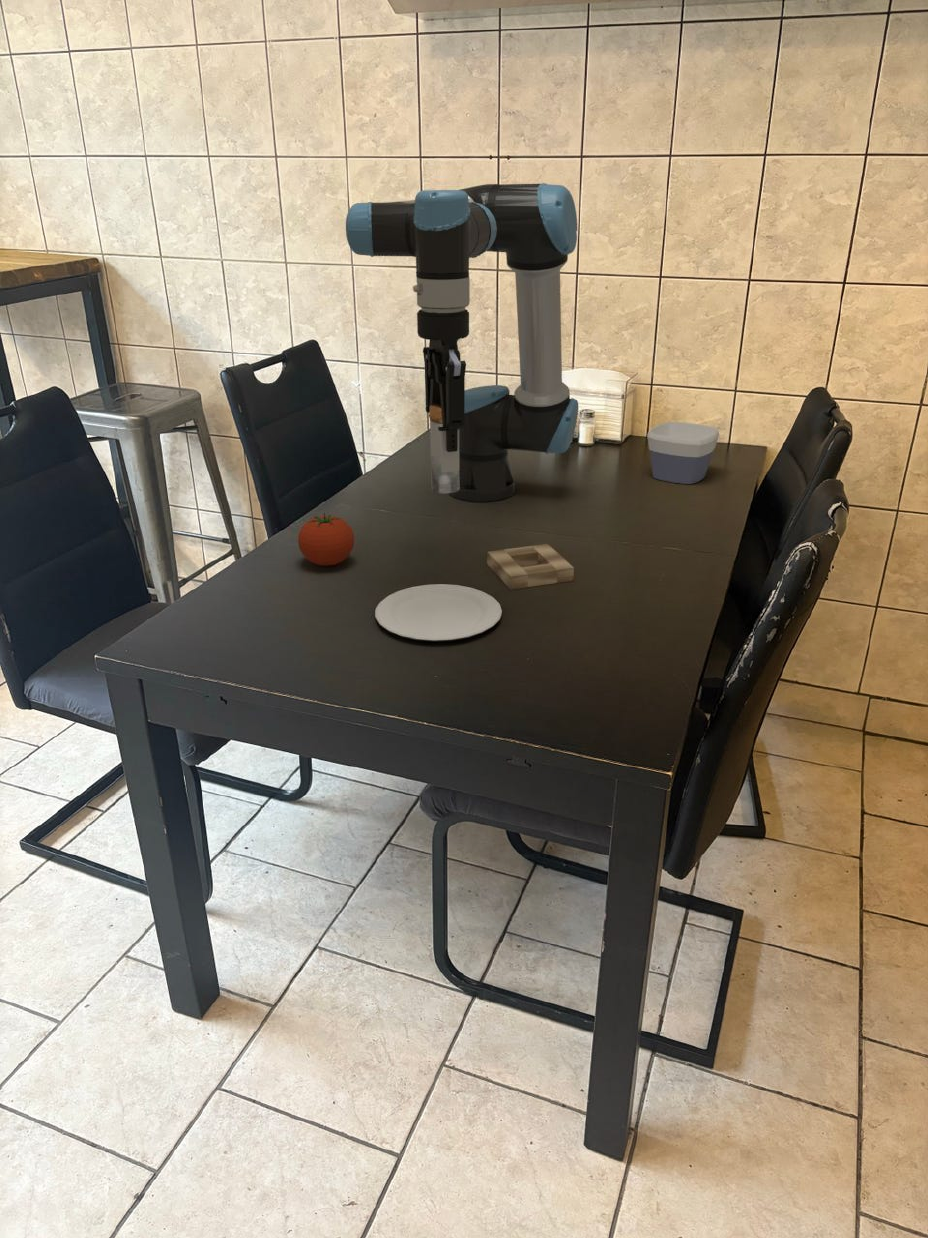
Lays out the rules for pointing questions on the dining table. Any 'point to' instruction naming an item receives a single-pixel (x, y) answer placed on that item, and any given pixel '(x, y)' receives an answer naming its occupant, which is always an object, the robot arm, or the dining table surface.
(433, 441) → the clear jar
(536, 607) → the dining table surface
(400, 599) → the plate
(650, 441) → the bowl
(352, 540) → the tomato
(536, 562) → the socket block
